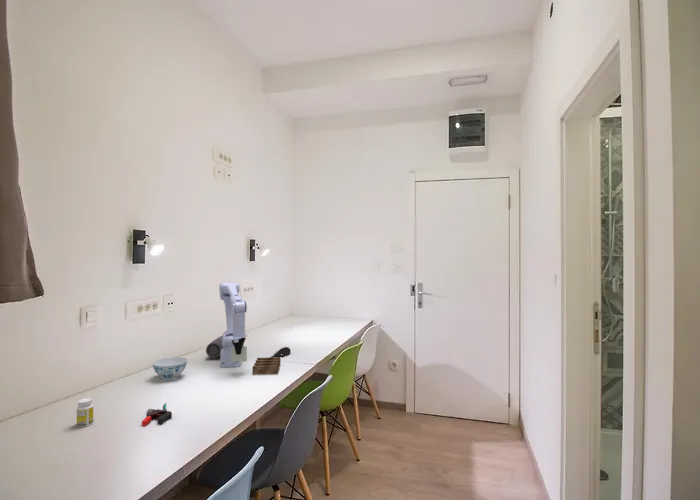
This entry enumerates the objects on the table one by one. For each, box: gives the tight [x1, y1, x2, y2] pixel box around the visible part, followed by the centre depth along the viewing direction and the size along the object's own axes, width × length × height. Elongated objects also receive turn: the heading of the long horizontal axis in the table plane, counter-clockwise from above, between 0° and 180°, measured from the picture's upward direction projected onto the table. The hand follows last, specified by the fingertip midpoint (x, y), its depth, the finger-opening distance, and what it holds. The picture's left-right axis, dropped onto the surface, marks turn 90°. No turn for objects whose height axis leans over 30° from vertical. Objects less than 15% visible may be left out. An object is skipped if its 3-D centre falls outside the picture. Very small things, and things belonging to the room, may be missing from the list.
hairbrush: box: [270, 346, 291, 358], centre depth 217 cm, size 8×4×25 cm
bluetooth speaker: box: [205, 335, 223, 359], centre depth 223 cm, size 23×9×10 cm, turn 179°
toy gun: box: [141, 402, 173, 427], centre depth 137 cm, size 10×12×5 cm
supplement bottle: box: [76, 397, 94, 428], centre depth 134 cm, size 5×5×8 cm
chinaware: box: [151, 356, 188, 381], centre depth 182 cm, size 15×15×8 cm
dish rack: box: [252, 356, 281, 375], centre depth 195 cm, size 12×15×4 cm
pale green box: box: [231, 345, 248, 363], centre depth 189 cm, size 7×2×7 cm, turn 95°
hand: (238, 353), depth 189 cm, fingers closed on pale green box, 2 cm apart
